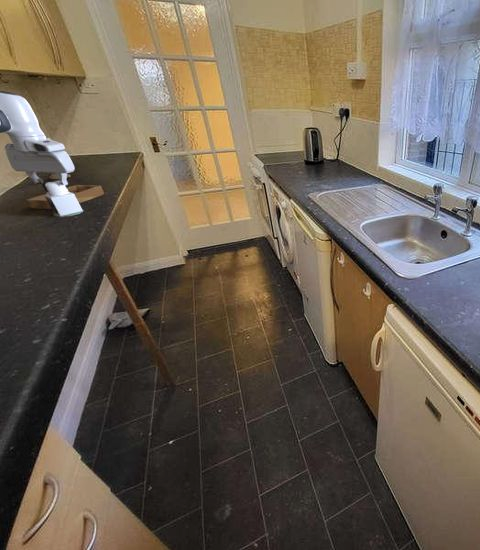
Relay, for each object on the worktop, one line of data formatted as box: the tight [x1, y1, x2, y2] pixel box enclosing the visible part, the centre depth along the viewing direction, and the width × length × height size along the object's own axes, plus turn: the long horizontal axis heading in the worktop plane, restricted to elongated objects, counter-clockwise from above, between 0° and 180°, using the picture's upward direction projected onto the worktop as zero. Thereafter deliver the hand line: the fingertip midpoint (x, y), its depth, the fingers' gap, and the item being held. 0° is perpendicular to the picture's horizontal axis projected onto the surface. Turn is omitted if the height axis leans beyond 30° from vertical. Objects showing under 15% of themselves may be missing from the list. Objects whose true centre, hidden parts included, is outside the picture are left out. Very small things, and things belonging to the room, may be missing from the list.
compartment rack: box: [25, 184, 105, 210], centre depth 128 cm, size 12×23×4 cm, turn 178°
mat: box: [52, 208, 84, 218], centre depth 117 cm, size 9×9×1 cm
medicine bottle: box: [41, 179, 84, 216], centre depth 114 cm, size 7×7×12 cm
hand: (51, 184), depth 111 cm, fingers open, 8 cm apart
